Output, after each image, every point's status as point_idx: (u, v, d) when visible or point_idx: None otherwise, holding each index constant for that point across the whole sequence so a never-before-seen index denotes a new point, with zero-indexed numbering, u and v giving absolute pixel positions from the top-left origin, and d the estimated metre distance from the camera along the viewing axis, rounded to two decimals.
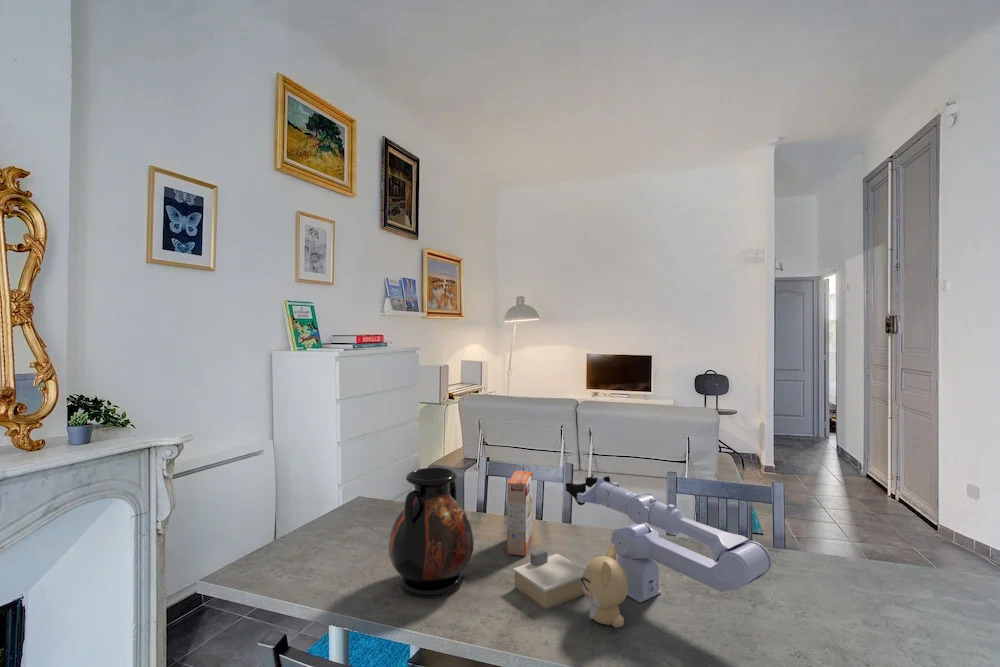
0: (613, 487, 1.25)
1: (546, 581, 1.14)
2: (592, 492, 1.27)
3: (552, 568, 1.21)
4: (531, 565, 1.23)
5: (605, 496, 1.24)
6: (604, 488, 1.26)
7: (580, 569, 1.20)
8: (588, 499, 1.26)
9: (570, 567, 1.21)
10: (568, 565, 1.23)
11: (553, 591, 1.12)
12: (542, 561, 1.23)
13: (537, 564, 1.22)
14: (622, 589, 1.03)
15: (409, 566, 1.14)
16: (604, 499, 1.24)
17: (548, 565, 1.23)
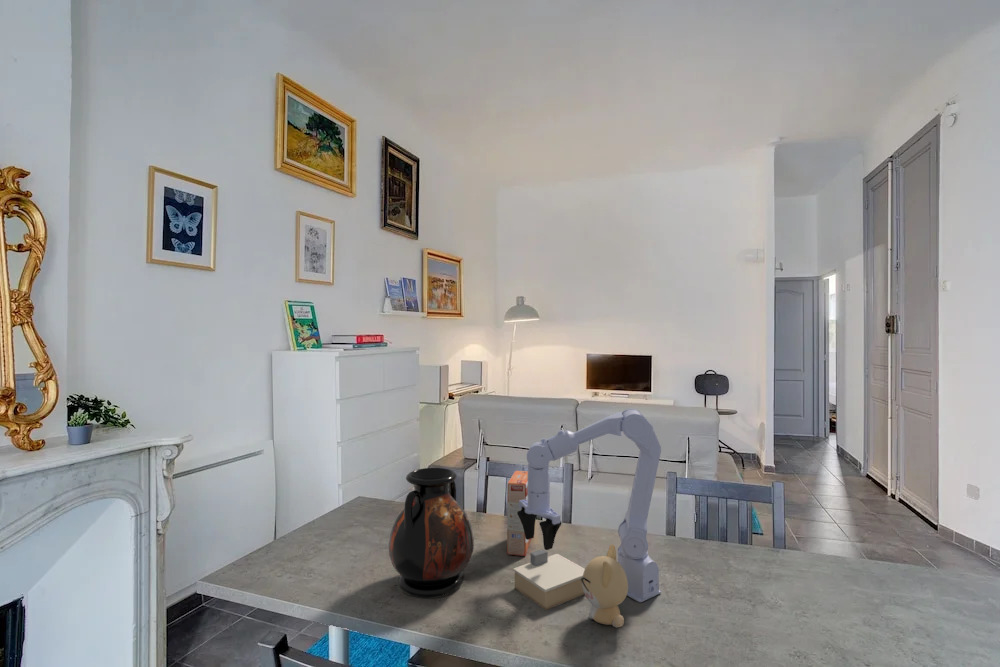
0: (531, 492, 1.22)
1: (546, 581, 1.14)
2: (544, 512, 1.21)
3: (552, 568, 1.21)
4: (531, 565, 1.23)
5: (543, 495, 1.22)
6: (535, 500, 1.22)
7: (580, 569, 1.20)
8: (552, 513, 1.21)
9: (570, 567, 1.21)
10: (568, 565, 1.23)
11: (553, 591, 1.12)
12: (542, 561, 1.23)
13: (537, 564, 1.22)
14: (622, 589, 1.03)
15: (409, 566, 1.14)
16: (546, 495, 1.22)
17: (548, 565, 1.23)
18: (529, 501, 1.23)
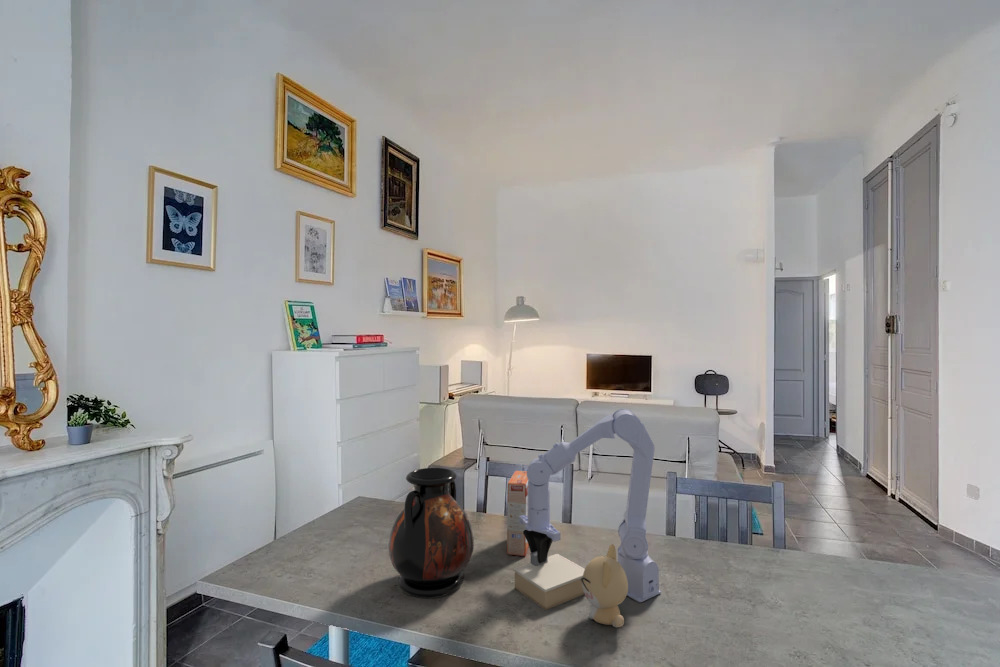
0: (531, 508, 1.22)
1: (546, 581, 1.14)
2: (544, 529, 1.21)
3: (552, 568, 1.21)
4: (531, 565, 1.23)
5: (543, 512, 1.22)
6: (535, 517, 1.22)
7: (580, 569, 1.20)
8: (553, 530, 1.21)
9: (570, 567, 1.21)
10: (568, 565, 1.23)
11: (553, 591, 1.12)
12: None
13: (537, 564, 1.22)
14: (622, 589, 1.03)
15: (409, 566, 1.14)
16: (546, 512, 1.22)
17: (548, 565, 1.23)
18: (529, 518, 1.23)
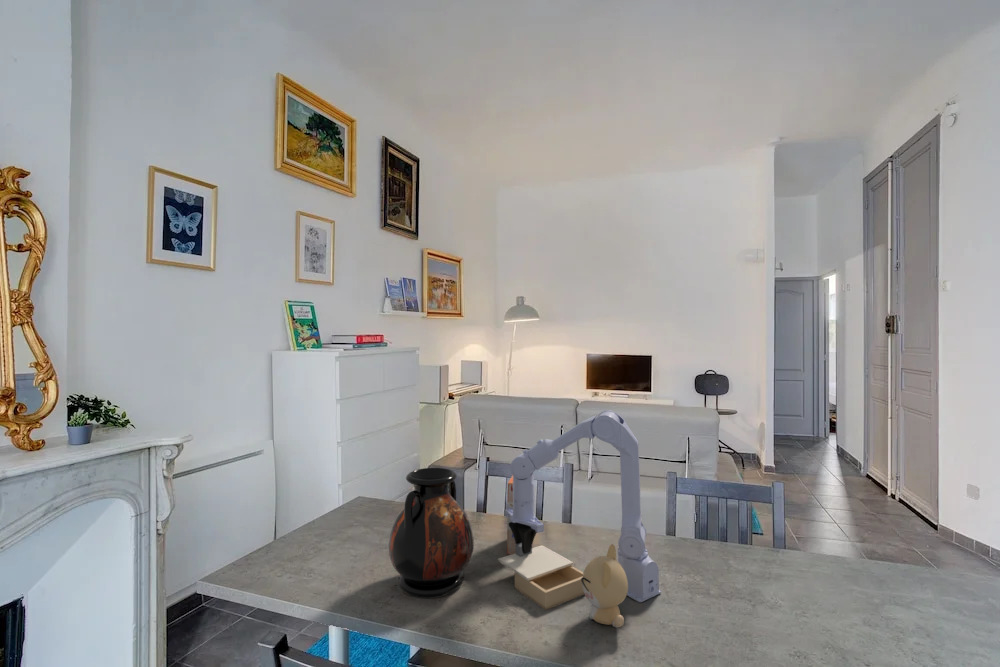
0: (516, 501, 1.28)
1: (529, 570, 1.20)
2: (528, 521, 1.27)
3: (536, 558, 1.26)
4: (516, 555, 1.28)
5: (527, 505, 1.27)
6: (520, 509, 1.27)
7: (562, 559, 1.26)
8: (536, 522, 1.26)
9: (553, 557, 1.27)
10: (551, 556, 1.28)
11: (553, 591, 1.12)
12: None
13: (522, 555, 1.28)
14: (622, 589, 1.03)
15: (409, 566, 1.14)
16: (530, 505, 1.27)
17: (532, 556, 1.28)
18: (514, 510, 1.28)
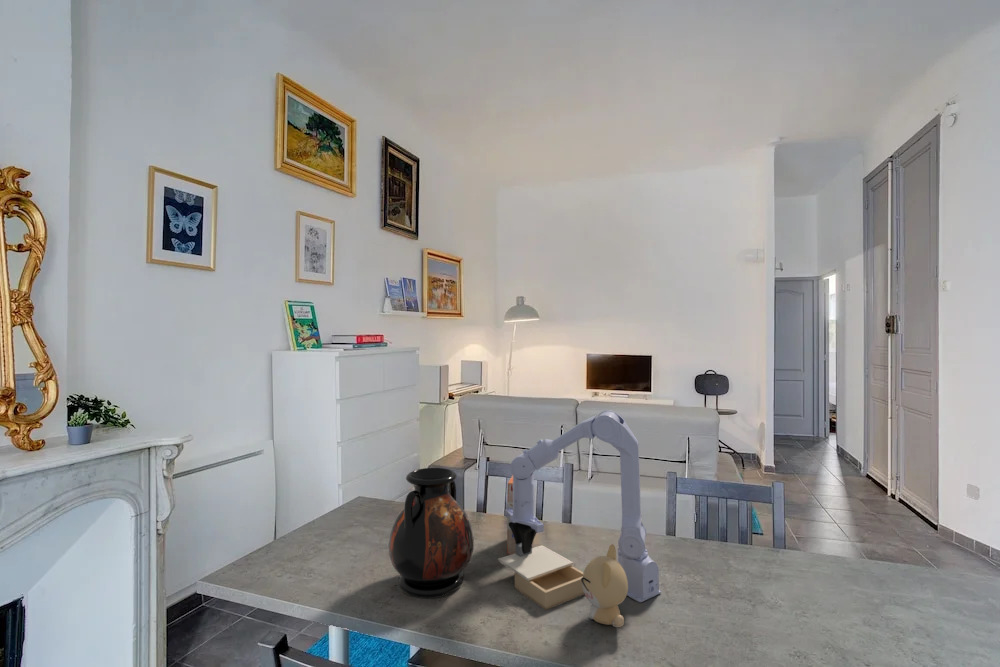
0: (516, 501, 1.28)
1: (529, 570, 1.20)
2: (528, 521, 1.27)
3: (536, 558, 1.26)
4: (516, 555, 1.28)
5: (527, 505, 1.27)
6: (520, 509, 1.27)
7: (562, 559, 1.26)
8: (536, 522, 1.26)
9: (553, 557, 1.27)
10: (551, 556, 1.28)
11: (553, 591, 1.12)
12: None
13: (522, 555, 1.28)
14: (622, 589, 1.03)
15: (409, 566, 1.14)
16: (530, 505, 1.27)
17: (532, 556, 1.28)
18: (514, 510, 1.28)
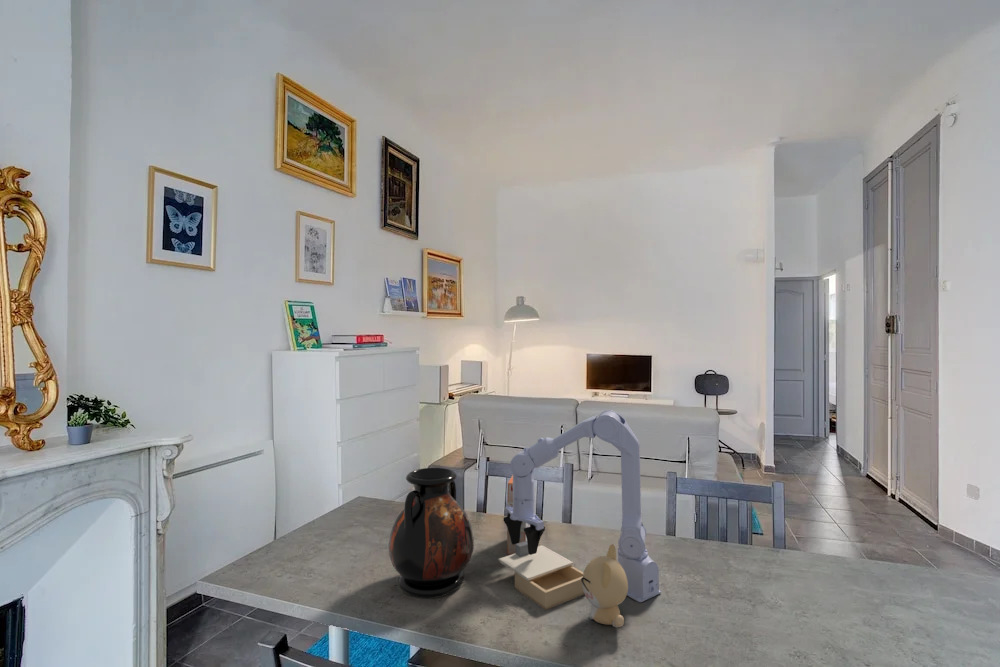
0: (516, 499, 1.28)
1: (529, 570, 1.20)
2: (528, 519, 1.27)
3: (536, 558, 1.26)
4: (516, 555, 1.28)
5: (527, 502, 1.27)
6: (520, 507, 1.27)
7: (562, 559, 1.26)
8: (536, 519, 1.26)
9: (553, 557, 1.27)
10: (551, 556, 1.28)
11: (553, 591, 1.12)
12: (527, 552, 1.29)
13: (522, 555, 1.28)
14: (622, 589, 1.03)
15: (409, 566, 1.14)
16: (530, 502, 1.27)
17: (532, 556, 1.28)
18: (514, 508, 1.28)
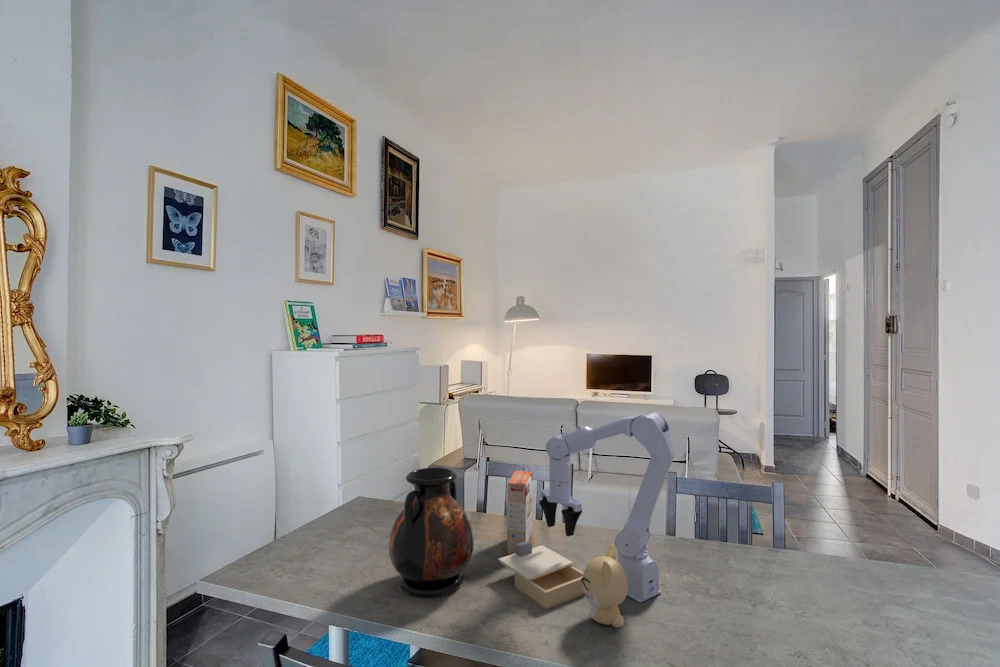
0: (553, 481, 1.29)
1: (529, 570, 1.20)
2: (565, 501, 1.28)
3: (536, 558, 1.26)
4: (516, 555, 1.28)
5: (564, 485, 1.28)
6: (557, 489, 1.28)
7: (562, 559, 1.26)
8: (574, 501, 1.27)
9: (553, 557, 1.27)
10: (551, 556, 1.28)
11: (553, 591, 1.12)
12: (527, 552, 1.29)
13: (522, 555, 1.28)
14: (622, 589, 1.03)
15: (409, 566, 1.14)
16: (567, 485, 1.29)
17: (532, 556, 1.28)
18: (551, 490, 1.30)
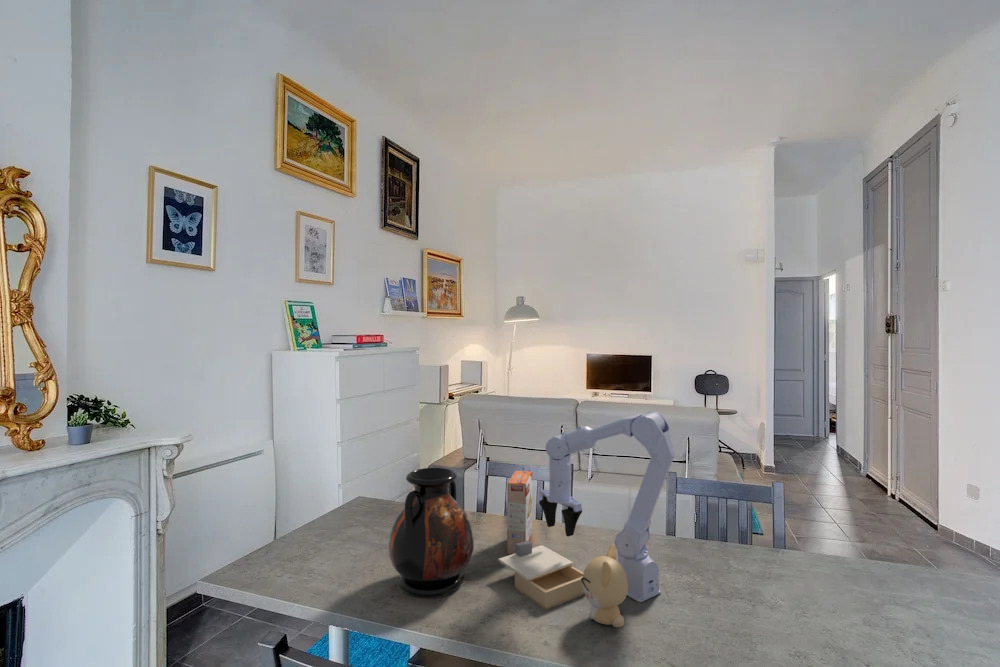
0: (553, 481, 1.29)
1: (529, 570, 1.20)
2: (565, 501, 1.28)
3: (536, 558, 1.26)
4: (516, 555, 1.28)
5: (564, 485, 1.28)
6: (557, 489, 1.28)
7: (562, 559, 1.26)
8: (574, 501, 1.27)
9: (553, 557, 1.27)
10: (551, 556, 1.28)
11: (553, 591, 1.12)
12: (527, 552, 1.29)
13: (522, 555, 1.28)
14: (622, 589, 1.03)
15: (409, 566, 1.14)
16: (567, 485, 1.29)
17: (532, 556, 1.28)
18: (551, 490, 1.30)
